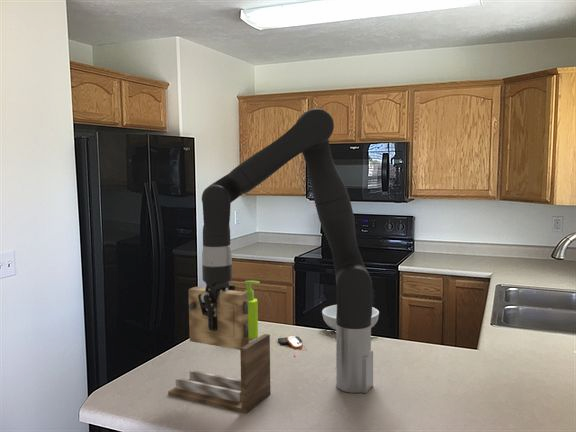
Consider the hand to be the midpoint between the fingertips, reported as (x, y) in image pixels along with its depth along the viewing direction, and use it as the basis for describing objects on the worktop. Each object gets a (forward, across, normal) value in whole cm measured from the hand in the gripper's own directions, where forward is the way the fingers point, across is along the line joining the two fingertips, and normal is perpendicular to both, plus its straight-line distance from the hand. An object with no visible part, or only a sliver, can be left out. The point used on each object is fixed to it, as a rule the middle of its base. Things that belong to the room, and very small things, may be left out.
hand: (218, 327), depth 133 cm
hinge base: (+18, 0, 0) cm, 18 cm away
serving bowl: (+18, +68, -12) cm, 71 cm away
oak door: (+4, 0, 0) cm, 4 cm away
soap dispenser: (+18, +45, +17) cm, 51 cm away
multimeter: (+19, +41, -4) cm, 46 cm away
